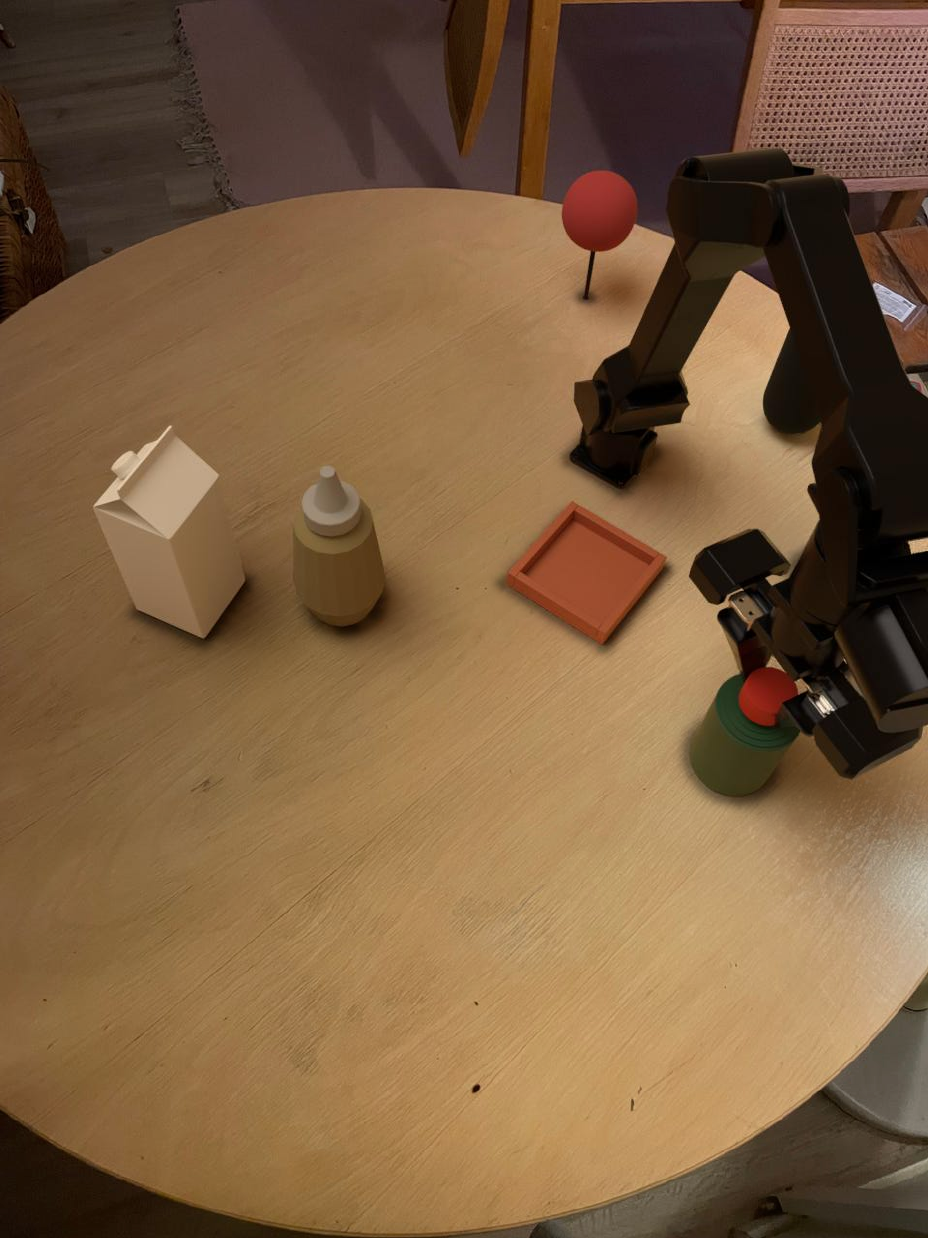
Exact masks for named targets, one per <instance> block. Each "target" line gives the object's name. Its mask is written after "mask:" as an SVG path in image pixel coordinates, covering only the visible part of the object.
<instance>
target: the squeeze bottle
mask: <svg viewBox="0 0 928 1238" xmlns="http://www.w3.org/2000/svg"><path fill="white" fill-rule="evenodd" d="M359 494H360V493H359V492H358V491H357V489H355V488H354V487H353V485H352V484H350V483H347V482H345V481H344V480H340V478H339V476H338V474H337V471H336V469H335V467H334V466H331V465H324V466H321V468H320V469H319V473H318V477H317V482H316V483H313V484H312V485H310V487H308V488H307V490H306V491H305V492H304V493H303V496H302V500H301V505H300V506H299V507H298V508H297V510H295V511H296V512H295V515H294V518H293V522H292V561H293V562H292V563H293V565H292V566H293V567H292V570H293V573H292V575H293V577H292V579H293V583H294V588H295V592H296V595H297V596H298V597H299V599H300V601H302V602H303V604H304V605H305V606H306V607H307V609H309V610H310V611H311V613H312V614H313V615H314V616H315V617H316V618H317V619H318V620H320V621H321V622H324V623H325V624H327V625H328V626H335V627H347V626H351V625H356V624H358V623H359V622H360V621H362V620H364V619H366V618H367V616H368V615H369V614H370V613H371V611H372V610H373V608H374V606H375V605H376V603H377V602H378V600H379V598H380V596H381V595H382V593H383V591H384V587H385V583H386V582H385V581H386V577H387V575H386V571H385V567H384V562H383V558H382V554H381V549H380V545H379V541H378V535H377V532H376V531H377V530H376V528H375V523H374V519H373V514H372V511H371V508H370V507H369V506H368V505H367V504H366V503H365V501H364V500H363V499H362V498H360V495H359Z"/></svg>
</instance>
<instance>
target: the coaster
mask: <svg viewBox="0 0 928 1238" xmlns="http://www.w3.org/2000/svg"><path fill="white" fill-rule="evenodd" d="M666 561H667V556H666V555H665V554H664V553H662V552H660V551H658V550H656V549H654V548H653V547H651V546H649V545H648V544H646V543H644V542H643V541H641V540H639V539H637V538H635V537H634V536H632V535H631V534H629V533H627V532H626V531H624V530H623V529H620V528H619V527H617V526H615V525H613V524H612V523H611V522H608V521H607V520H606V519H603V518H602V517H600V516H598V515H597V514H595V513H594V512H592V511H590V510H588V509H586V508H585V507H583V506H582V505H579V504H578V503H577V502H574V501H573V500H572V501H570V502H569V503H568V504H567V506H566V507H565V508H564V509H563V510H562V511H561V512H560V513H559V515H557V517H556V518H555V519H554V520H553V521H552V523H551V524H550V525H549V526H548V527H547V528H546V529H545V530H544V531H543V533H542V534H541V535H540V536H539V537H538V538H537V539H536V540H535V542H534V543H533V544H532V545H531V546H530V547H529V548H528V549H527V551H526V552H525V553H524V554H522V556H521V557H520V558H519V559H518V560H517V562H515V564H514V565H513V566H512V567H511V568H510V569H509V571H508V572H507V577H506V585H507V586H509V587H510V588H512V589H514V590H515V591H517V592H518V593H520V594H522V595H523V596H524V597H526V598H528V599H529V600H531V601H533V603H536V604H537V605H538V606H540V607H542V608H544V609H545V610H547V611H548V612H550V613H551V614H552V615H555V616H556V617H558V618H560V619H561V620H563V621H564V622H566V623H567V624H569V625H571V626H572V627H574V628H575V629H577V630H578V631H580V632H581V633H583V634H585V635H586V636H588V637H589V638H591V639H592V640H594V641H595V642H597V643H599V644H601V645H604V643H605V642H606V641H607V639H608V638H609V637H610V636H611V634H612V633H614V631H615V629H616V628H617V627H618V626H619V624H620V623H621V622H622V621H623V619H624V618H625V617H626V616H627V615H628V613H629V612H630V610H632V608H633V607H634V606H635V604H636V603H637V602H638V601H639V599H640V598H641V597H642V596H643V594H644V593H645V592H646V590H647V589H648V588H649V587H650V586H651V584H652V583H653V582H654V581H655V579H656V578H657V577H658V576H659V574H660V573H661V572H662V570H663V569H664V567H665V564H666Z"/></svg>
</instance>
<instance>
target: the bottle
mask: <svg viewBox="0 0 928 1238" xmlns="http://www.w3.org/2000/svg"><path fill="white" fill-rule="evenodd" d="M744 684H745V683H744V682H743V680H742V678H741V675H740V673H737V674H735V675H733V676H731V677H729V678H727V680H725V681H724V682H723V683H722V684H721V685H720V687H719V689H718V690H717V692H716V694H715V696H714V698H713V700H712V702H711V704H710V706H709V708H708V710H707V712H706V713H705V715H704V718H703V719H702V721H701V723H700V724H699V727H698V729H697V730H696V732H695V735H694V736H693V738H692V741H691V743H690V747H689V760H690V761H689V762H690V764H691V767H692V770H693V771H694V772H693V773H695V775H696V776H697V778H698V779H699V780H700V781H701V782H702V784H703V785H705V786H706V787H707V788H709V789H710V790H712V791H714V792H715V793H718V794H720V795H724V796H728V797H745V796H747V795H751V794H753V793H755V792H757V791H758V790H760V789H761V788H762V787H763V786H764V784H765V783H766V782H767V781H768V780H769V778H770V776H771V775H772V774H773V772H774V770H776V768H777V767H778V765H779V764H780V762H781V761H782V760H783V758H784V757H785V755H786V754H787V753H788V751H789V750H790V748H791V747H792V745H793V744H794V743H795V741H796V740H797V738H798V737H799V736H800V734H801V731H800V730H799V729H798V728H797V727H792V726H784V727H781V728H777V726H776V725H772V726H765V725H760V724H757V723H755V722H753V721H751V720H750V719H749V718H748V717H746V715H745V714H744V713H743V712H742V710H741V708H740V705H739V693H740V691H741V689H742V687H743V685H744Z"/></svg>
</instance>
